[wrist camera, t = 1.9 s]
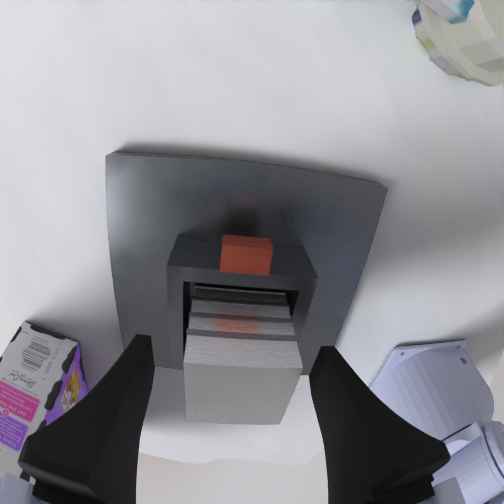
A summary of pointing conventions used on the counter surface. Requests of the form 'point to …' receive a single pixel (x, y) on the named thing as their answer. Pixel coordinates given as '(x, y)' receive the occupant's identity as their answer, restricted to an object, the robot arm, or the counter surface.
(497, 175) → the counter surface
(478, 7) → the grey elongated piece
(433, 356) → the robot arm
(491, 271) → the counter surface
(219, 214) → the stand
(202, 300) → the column
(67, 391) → the candy box
